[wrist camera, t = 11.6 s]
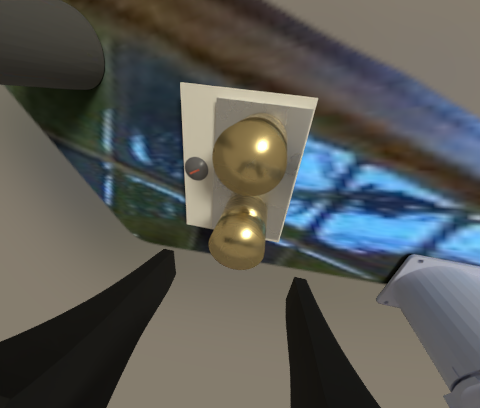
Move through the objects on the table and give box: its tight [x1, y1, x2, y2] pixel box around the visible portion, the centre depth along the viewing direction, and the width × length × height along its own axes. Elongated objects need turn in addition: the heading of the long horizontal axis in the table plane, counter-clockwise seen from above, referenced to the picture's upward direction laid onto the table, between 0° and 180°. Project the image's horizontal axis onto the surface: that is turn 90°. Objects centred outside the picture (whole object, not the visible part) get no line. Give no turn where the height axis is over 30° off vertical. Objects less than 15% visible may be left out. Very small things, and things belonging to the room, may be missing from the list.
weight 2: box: [209, 195, 267, 270], centre depth 15 cm, size 4×4×5 cm
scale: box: [180, 82, 318, 242], centre depth 17 cm, size 10×13×2 cm
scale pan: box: [212, 98, 314, 240], centre depth 16 cm, size 7×12×1 cm, turn 174°
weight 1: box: [212, 113, 287, 196], centre depth 12 cm, size 4×4×5 cm
